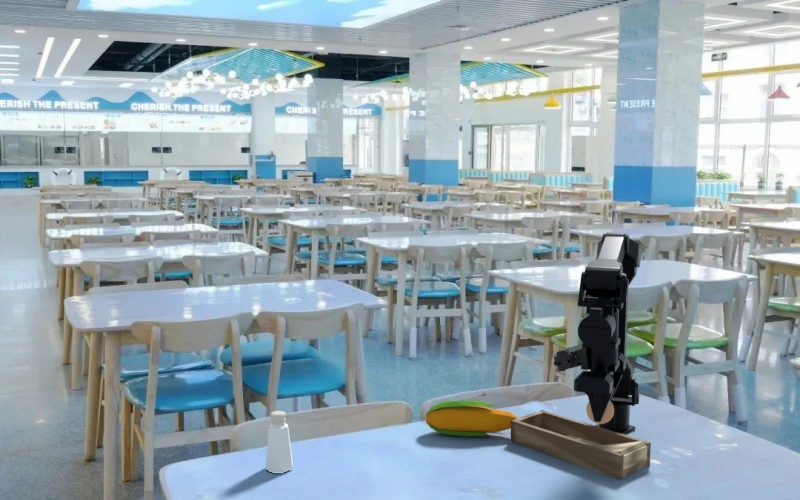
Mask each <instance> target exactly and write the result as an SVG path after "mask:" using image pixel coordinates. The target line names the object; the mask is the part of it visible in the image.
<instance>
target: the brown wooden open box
mask: <svg viewBox="0 0 800 500" xmlns="http://www.w3.org/2000/svg"><path fill="white" fill-rule="evenodd" d="M510 443H512V444H516V445H519V446H522V447H525V448H527V449H531V450H532V451H536V452H538V453H542V454H545V455H548V456H552V457H554V458H557V459H559V460H562V461H565V462H568V463H571V464H572V465H573V464H574V465H576V466H578V467H583V468H586V469H589V470H590V471H594V472H597V473H599V474H603V475H606V476H608V477H611V478H614V479H617V480H621V479H624V478H625V477H628V476H630V475H632V474H634V473H637V472H639V471H641V470H643V469H645V468H648V466H651V449H652V447H651V446H652V445H651V443H652V442H650V441H647V440H644V439H641V438H638V437H635V436H631V435H629V434H628V435H627V434H621V433H618V432H614V431H611V430H607V429H604V428H601V427H597V426H595V425H593V424H589V423H587V422H583V421H580V420H576V419H573V418H570V417H568V416H563V415H559V414H557V413H553V412H549V411H546V410H543V409H542V410H538V411H535V412H532V413H529V414H527V415H524V416H521V417H518V418H517V419H514V420H511V429H510Z"/></svg>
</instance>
